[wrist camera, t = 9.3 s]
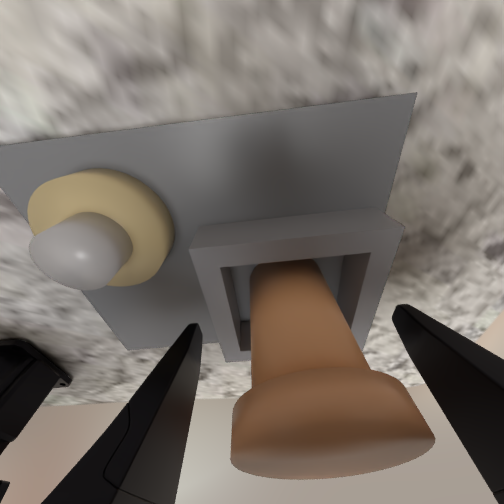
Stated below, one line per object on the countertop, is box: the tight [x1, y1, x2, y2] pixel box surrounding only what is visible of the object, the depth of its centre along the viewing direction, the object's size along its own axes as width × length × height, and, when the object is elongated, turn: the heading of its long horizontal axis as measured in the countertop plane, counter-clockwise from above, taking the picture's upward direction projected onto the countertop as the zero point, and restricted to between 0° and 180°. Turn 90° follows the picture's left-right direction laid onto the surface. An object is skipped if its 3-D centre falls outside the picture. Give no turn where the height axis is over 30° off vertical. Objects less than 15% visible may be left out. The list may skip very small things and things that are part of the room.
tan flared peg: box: [230, 259, 435, 480], centre depth 8 cm, size 5×5×7 cm
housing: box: [0, 92, 417, 362], centre depth 10 cm, size 16×13×4 cm
